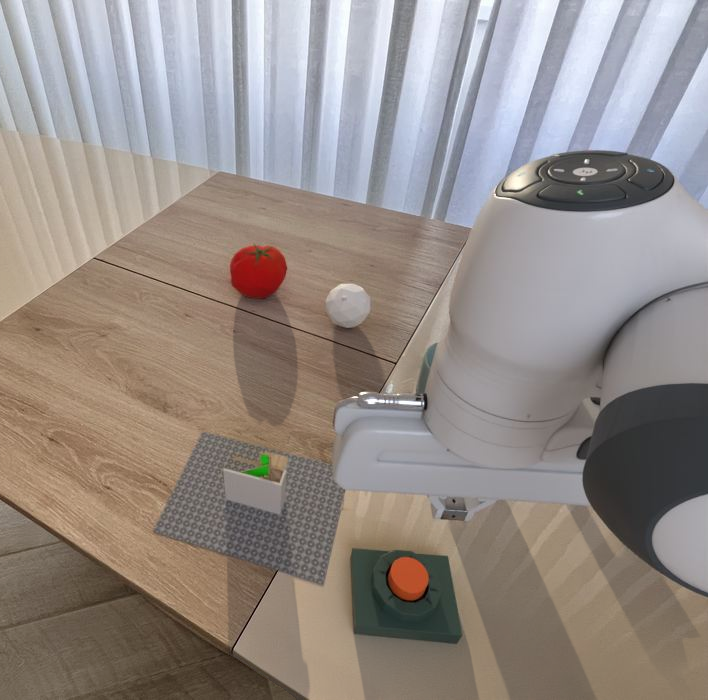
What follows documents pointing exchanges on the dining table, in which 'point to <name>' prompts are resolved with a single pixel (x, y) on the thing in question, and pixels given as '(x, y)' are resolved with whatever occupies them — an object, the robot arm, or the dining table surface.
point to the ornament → (347, 305)
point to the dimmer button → (408, 578)
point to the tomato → (258, 271)
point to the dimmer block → (398, 614)
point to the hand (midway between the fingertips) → (449, 512)
